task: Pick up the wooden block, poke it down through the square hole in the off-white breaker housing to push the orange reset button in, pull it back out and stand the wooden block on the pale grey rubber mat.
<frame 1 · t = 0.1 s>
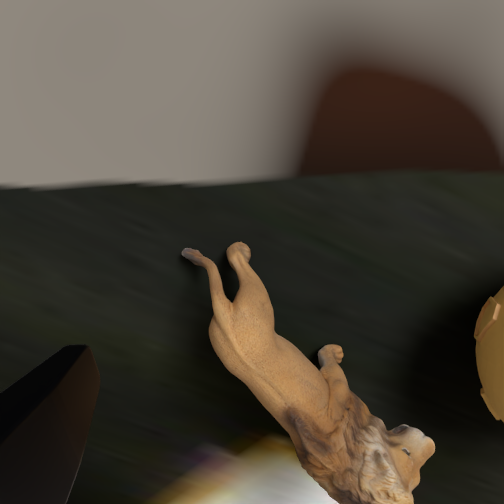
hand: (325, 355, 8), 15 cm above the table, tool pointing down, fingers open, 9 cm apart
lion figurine: (293, 329, 25), on the table
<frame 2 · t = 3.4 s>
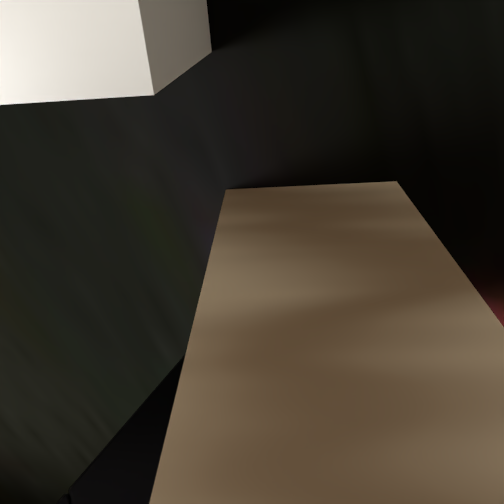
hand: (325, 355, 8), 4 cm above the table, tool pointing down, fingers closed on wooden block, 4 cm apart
wooden block: (310, 258, 11), on the table, touching gripper
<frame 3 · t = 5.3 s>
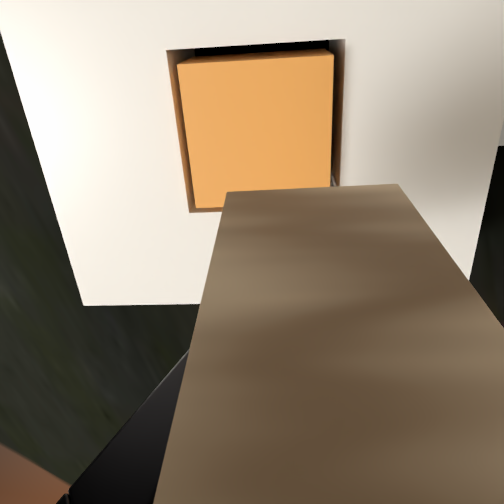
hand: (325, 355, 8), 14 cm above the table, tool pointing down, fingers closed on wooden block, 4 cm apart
breaker housing: (263, 107, 19), on the table
reset button: (260, 128, 16), point 4 cm above the table, slide at 0.0 cm
wooden block: (310, 260, 11), point 10 cm above the table, touching gripper
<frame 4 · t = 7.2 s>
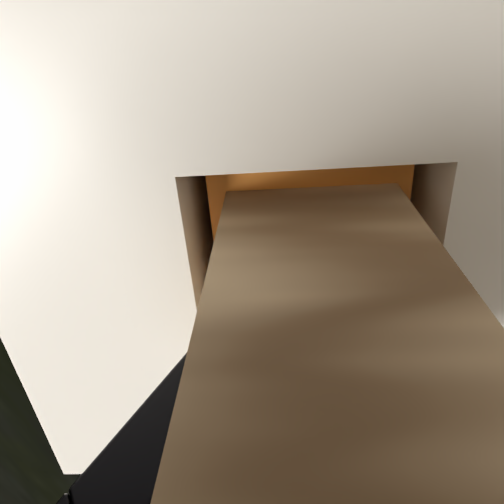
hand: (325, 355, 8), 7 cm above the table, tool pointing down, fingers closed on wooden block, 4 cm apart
breaker housing: (299, 201, 14), on the table
reset button: (304, 231, 12), point 2 cm above the table, slide at 1.8 cm, touching wooden block
wooden block: (310, 260, 11), point 4 cm above the table, touching gripper, reset button
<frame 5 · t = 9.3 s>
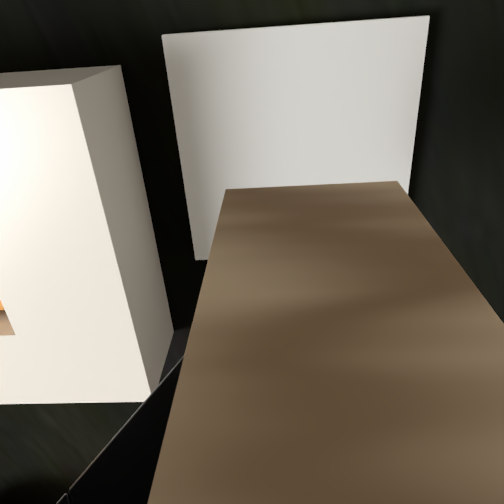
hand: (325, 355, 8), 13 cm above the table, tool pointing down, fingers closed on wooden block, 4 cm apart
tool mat: (294, 152, 19), on the table
wooden block: (310, 258, 11), point 9 cm above the table, touching gripper
when the fingers open (6 cm above the table, at t = 10.8 s): wooden block drops 2 cm, resting on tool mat.
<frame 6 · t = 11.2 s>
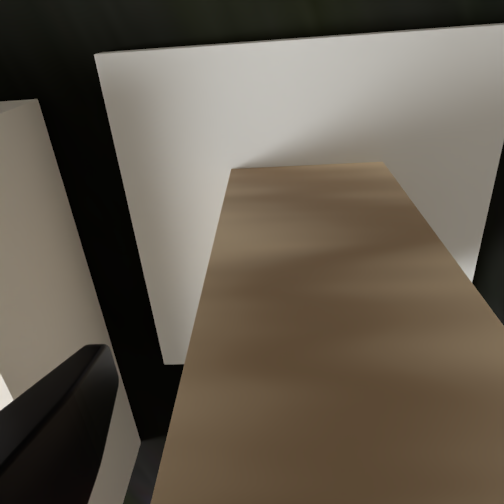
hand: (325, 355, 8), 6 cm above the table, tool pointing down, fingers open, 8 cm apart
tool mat: (304, 223, 13), on the table
wooden block: (306, 232, 12), point 1 cm above the table, touching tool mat
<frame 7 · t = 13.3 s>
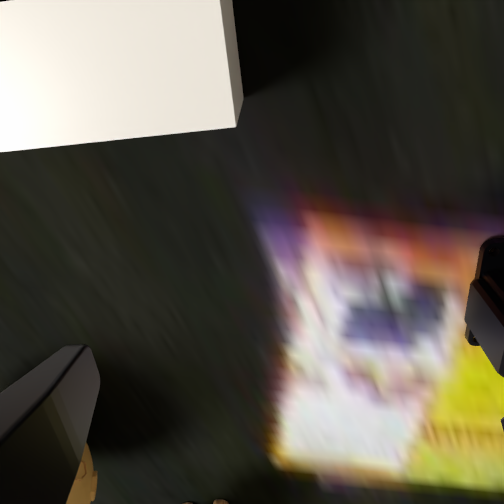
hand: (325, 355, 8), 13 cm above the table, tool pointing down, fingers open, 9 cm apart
stress ball: (43, 416, 29), on the table
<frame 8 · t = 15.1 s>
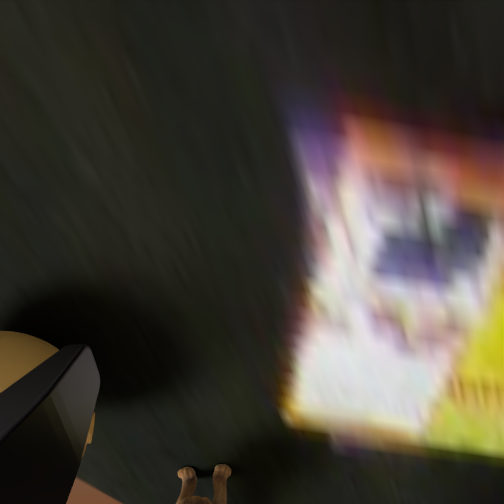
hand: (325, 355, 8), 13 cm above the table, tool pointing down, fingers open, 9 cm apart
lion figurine: (198, 489, 33), on the table
stress ball: (36, 356, 26), on the table
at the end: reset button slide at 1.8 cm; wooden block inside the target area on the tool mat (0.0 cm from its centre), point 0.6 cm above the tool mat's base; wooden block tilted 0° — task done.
